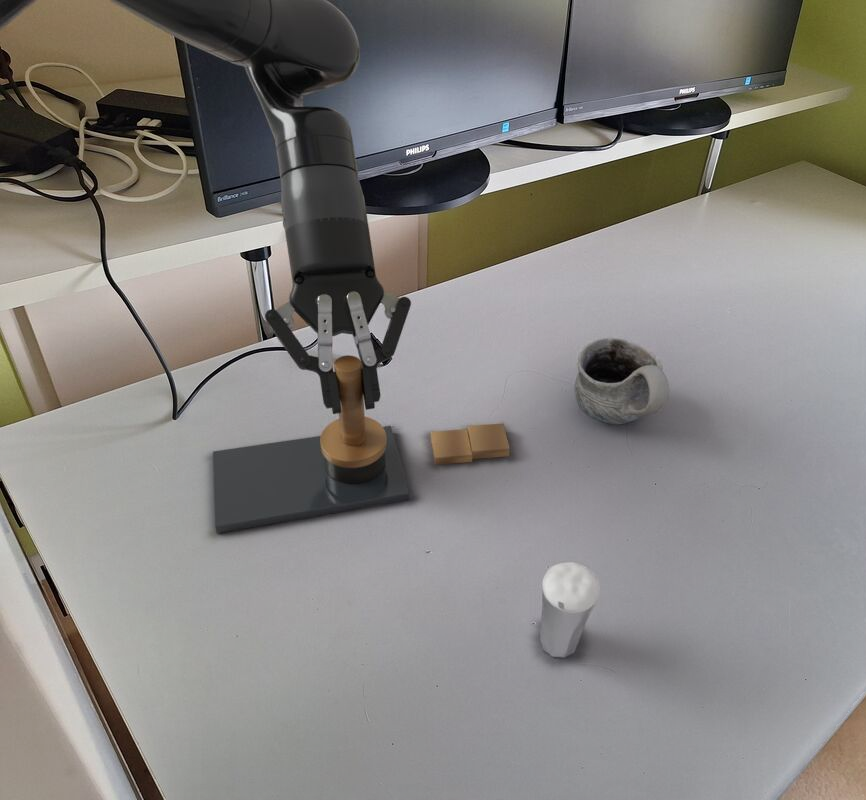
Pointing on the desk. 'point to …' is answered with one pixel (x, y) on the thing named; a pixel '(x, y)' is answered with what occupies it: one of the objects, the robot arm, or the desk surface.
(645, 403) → the mug
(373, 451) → the brush
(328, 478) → the tile
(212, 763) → the desk surface
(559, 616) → the milkshake
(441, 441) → the chip
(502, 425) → the chip
